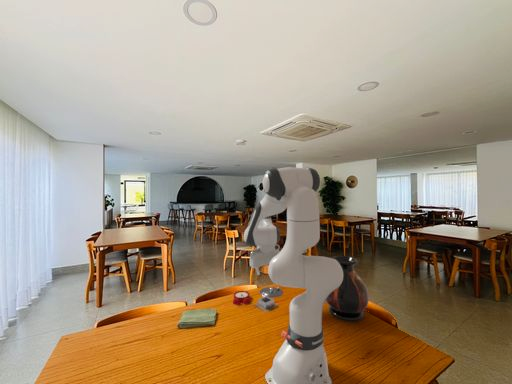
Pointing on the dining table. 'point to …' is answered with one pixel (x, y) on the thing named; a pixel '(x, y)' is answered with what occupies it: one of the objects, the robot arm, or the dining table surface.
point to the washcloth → (197, 318)
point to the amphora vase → (348, 293)
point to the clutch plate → (265, 302)
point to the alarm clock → (241, 297)
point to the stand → (266, 309)
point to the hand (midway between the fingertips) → (265, 272)
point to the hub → (271, 292)
